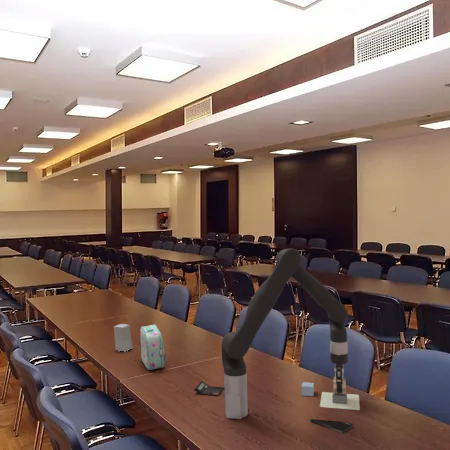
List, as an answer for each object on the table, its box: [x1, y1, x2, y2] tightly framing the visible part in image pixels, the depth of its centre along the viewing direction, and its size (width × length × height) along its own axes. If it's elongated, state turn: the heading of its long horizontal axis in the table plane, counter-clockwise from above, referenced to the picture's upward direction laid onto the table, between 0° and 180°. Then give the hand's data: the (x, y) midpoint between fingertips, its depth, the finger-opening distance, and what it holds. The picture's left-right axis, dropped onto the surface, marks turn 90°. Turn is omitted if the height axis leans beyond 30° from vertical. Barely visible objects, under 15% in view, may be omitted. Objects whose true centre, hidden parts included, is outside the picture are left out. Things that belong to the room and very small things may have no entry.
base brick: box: [332, 389, 348, 404], centre depth 196 cm, size 6×6×3 cm
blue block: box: [301, 381, 315, 397], centre depth 205 cm, size 5×5×5 cm
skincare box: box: [113, 323, 133, 353], centre depth 280 cm, size 8×7×16 cm
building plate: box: [319, 391, 361, 411], centre depth 196 cm, size 16×16×1 cm
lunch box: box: [139, 323, 166, 371], centre depth 252 cm, size 27×10×21 cm, turn 20°
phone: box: [309, 418, 354, 434], centre depth 177 cm, size 8×1×15 cm
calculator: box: [193, 380, 225, 397], centre depth 213 cm, size 9×12×3 cm
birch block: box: [332, 376, 347, 394], centre depth 196 cm, size 5×5×5 cm
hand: (339, 390), depth 196 cm, fingers closed on birch block, 5 cm apart
